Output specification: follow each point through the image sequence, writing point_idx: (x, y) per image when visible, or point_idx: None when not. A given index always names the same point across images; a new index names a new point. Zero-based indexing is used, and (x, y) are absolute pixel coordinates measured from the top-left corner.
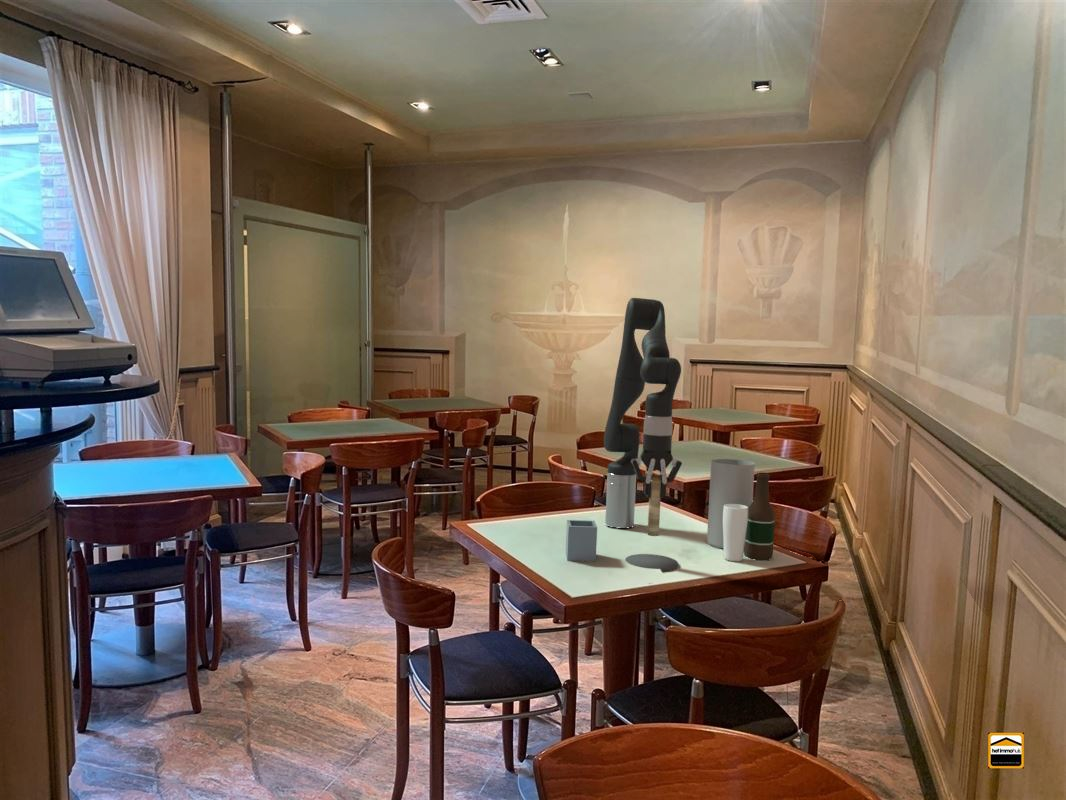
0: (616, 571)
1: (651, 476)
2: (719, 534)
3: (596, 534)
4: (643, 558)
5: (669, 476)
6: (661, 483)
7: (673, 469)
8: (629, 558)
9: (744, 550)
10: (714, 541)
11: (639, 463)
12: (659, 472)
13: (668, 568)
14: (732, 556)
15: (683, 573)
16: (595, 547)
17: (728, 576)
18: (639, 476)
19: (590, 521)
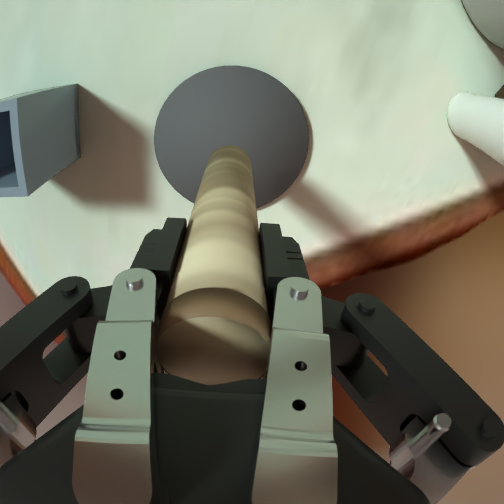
0: (126, 209)
1: (167, 370)
2: (492, 18)
3: (39, 186)
4: (212, 114)
5: (354, 343)
6: (269, 306)
7: (387, 421)
8: (168, 118)
9: (502, 96)
10: (470, 6)
11: (22, 438)
12: (273, 330)
13: (261, 205)
14: (460, 136)
15: (294, 218)
16: (57, 172)
17: (387, 239)
18: (69, 358)
19: (6, 110)
